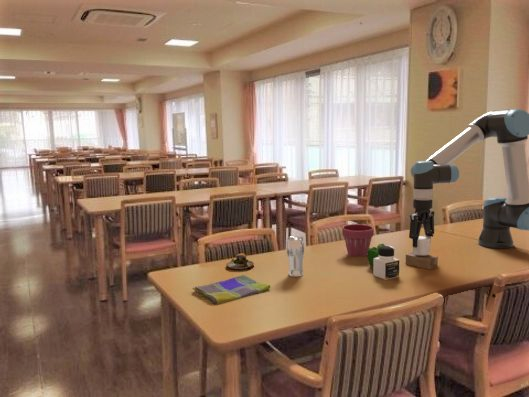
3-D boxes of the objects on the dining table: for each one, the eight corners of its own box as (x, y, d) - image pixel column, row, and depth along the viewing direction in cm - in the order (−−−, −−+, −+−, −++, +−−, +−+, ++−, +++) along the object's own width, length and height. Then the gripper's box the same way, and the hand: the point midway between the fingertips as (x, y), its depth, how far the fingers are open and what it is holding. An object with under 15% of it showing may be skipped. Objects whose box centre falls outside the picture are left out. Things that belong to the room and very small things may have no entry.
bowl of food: (220, 268, 196) (220, 251, 195) (240, 262, 204) (240, 245, 203) (240, 273, 188) (239, 256, 186) (259, 266, 196) (259, 250, 195)
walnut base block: (414, 260, 198) (415, 251, 197) (437, 266, 189) (437, 256, 188) (405, 263, 194) (405, 254, 193) (428, 269, 185) (428, 259, 184)
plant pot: (368, 259, 201) (368, 231, 199) (337, 256, 208) (337, 229, 206) (377, 252, 213) (377, 225, 211) (348, 249, 220) (348, 223, 218)
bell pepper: (366, 269, 188) (366, 245, 186) (368, 263, 195) (368, 241, 194) (387, 270, 185) (387, 246, 183) (388, 265, 192) (389, 242, 191)
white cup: (431, 256, 187) (431, 239, 186) (413, 255, 188) (414, 239, 187) (428, 251, 193) (429, 235, 192) (412, 251, 195) (412, 235, 194)
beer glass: (306, 272, 185) (305, 236, 183) (302, 277, 179) (301, 240, 177) (290, 271, 188) (289, 235, 185) (285, 276, 181) (284, 239, 179)
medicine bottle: (385, 280, 173) (385, 249, 171) (372, 275, 179) (373, 245, 178) (399, 277, 176) (400, 247, 175) (386, 272, 183) (387, 243, 181)
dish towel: (272, 291, 166) (272, 284, 165) (212, 307, 153) (212, 299, 152) (247, 279, 180) (247, 272, 180) (191, 292, 167) (190, 285, 167)
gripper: (428, 195, 196) (427, 247, 199) (400, 200, 184) (399, 255, 188) (444, 197, 190) (443, 250, 193) (416, 202, 178) (414, 259, 182)
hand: (421, 252), depth 191 cm, fingers closed on white cup, 7 cm apart
